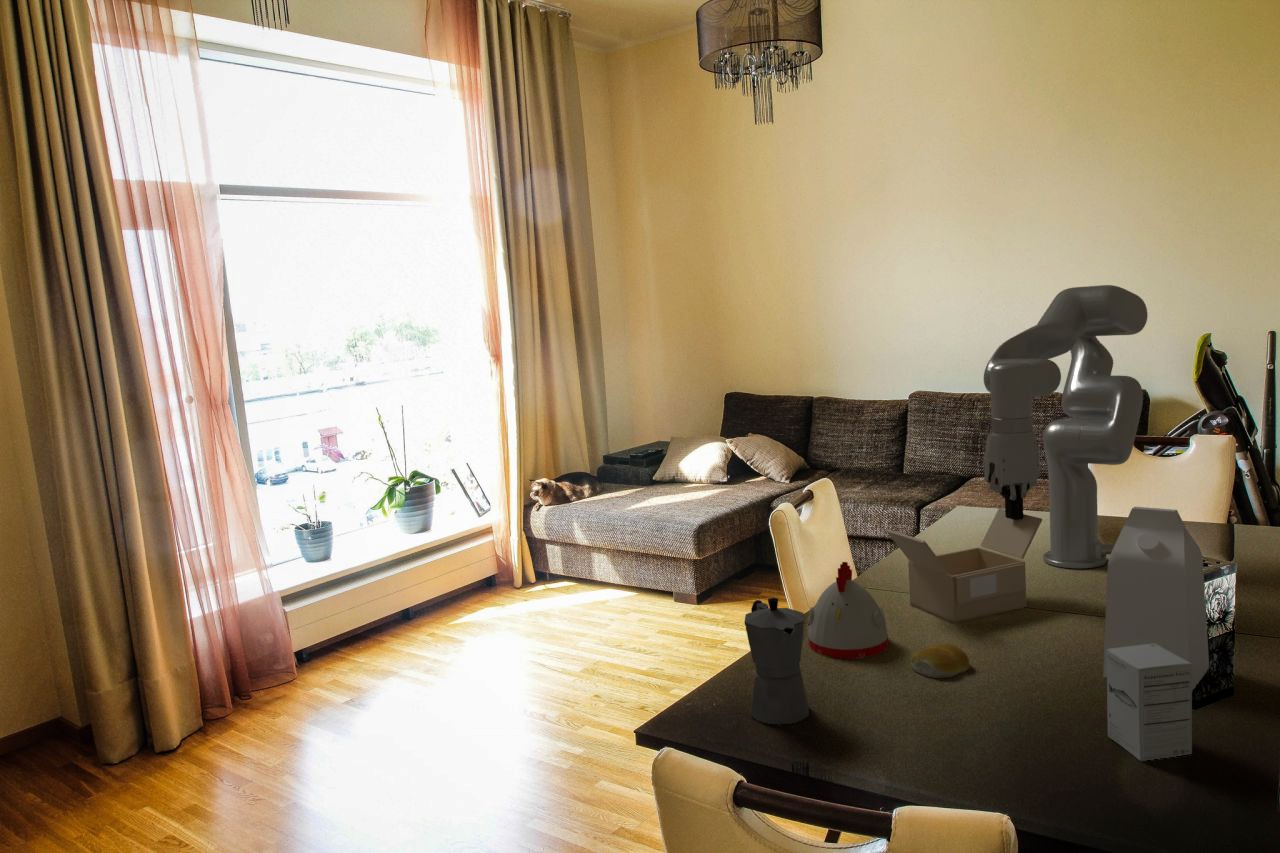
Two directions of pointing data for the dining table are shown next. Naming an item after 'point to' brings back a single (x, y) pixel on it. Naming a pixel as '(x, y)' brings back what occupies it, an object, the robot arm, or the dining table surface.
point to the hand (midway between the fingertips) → (1014, 518)
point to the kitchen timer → (847, 620)
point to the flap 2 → (1011, 534)
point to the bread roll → (940, 661)
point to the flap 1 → (917, 551)
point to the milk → (1157, 589)
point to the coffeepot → (776, 663)
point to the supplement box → (1149, 701)
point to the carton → (969, 585)
